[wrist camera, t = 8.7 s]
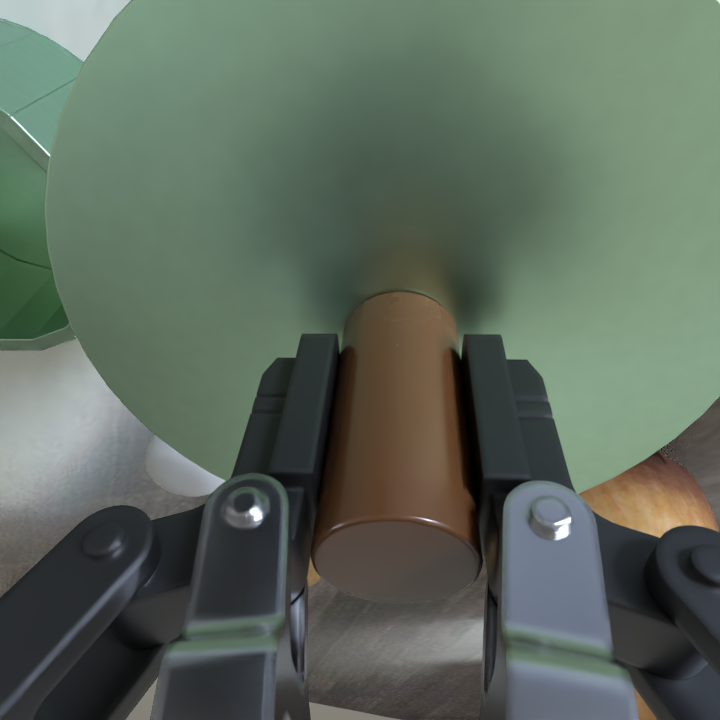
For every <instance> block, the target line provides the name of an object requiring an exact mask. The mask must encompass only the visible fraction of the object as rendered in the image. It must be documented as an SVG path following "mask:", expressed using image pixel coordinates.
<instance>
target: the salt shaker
mask: <svg viewBox="0 0 720 720" xmlns="http://www.w3.org/2000/svg"><path fill="white" fill-rule="evenodd" d="M145 468H146V470H147V472H148V473H149V475H150V476H151V478H152V480H153V481H154V483H156V484H157V485H159V486H160V487H161V488H163V489H164V490H166V491H168V492H171V493H174V494H177V495H180V496H188V497H198V496H203V495H208V494H210V493H212V492H213V491H214V490H215V489H216V488H217V487H219V486H220V485H221V484H222V483H224V482H225V480H223V479H221V478H219V477H217V476H215V475H213V474H211V473H209V472H208V471H206V470H205V469H203V468H202V467H200V466H198V465H197V464H195V463H194V462H192V461H190V460H189V459H187V458H186V457H184V456H182V455H181V454H180V453H178V452H177V451H176V450H174V449H173V448H172V447H170V446H169V445H168V444H167V443H165V442H164V441H163V440H161V439H160V438H159V437H157V436H156V435H154V436H153V437H152V439H151V441H150V443H149V445H148V448H147V452H146V457H145Z"/></svg>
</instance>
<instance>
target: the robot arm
mask: <svg viewBox="0 0 720 720" xmlns="http://www.w3.org/2000/svg"><path fill="white" fill-rule="evenodd" d="M339 358H340V349H339V340H338V335H337V334H307V333H303V334H302V335H301V338H300V341H299V346H298V350H297V354H296V358H276V359H275V361H274V362H273V363H272V364H271V365H270V366H269V367H268V369H267V370H266V371H265V372H264V373H263V374H262V377H261V380H260V384H259V387H258V390H257V397H255V400H254V404H253V407H252V414H250V417H249V420H248V423H247V427H246V430H245V433H244V437H243V440H242V443H241V447H240V450H239V453H238V457H237V460H236V463H235V466H234V470H233V473H232V475H231V478H230V479H229V480H227V481H225V482H224V483H222V484H221V485H220V486H219V487H217V488H216V489H215V490H214V491H213V492H212V494H211V495H210V497H209V498H208V500H207V502H206V503H205V504H203V505H201V506H199V507H197V508H195V509H192V510H189V511H185V512H182V513H178V514H174V515H170V516H166V517H163V518H159V519H155V520H151V521H150V519H149V517H148V516H147V515H146V514H145V513H144V512H143V511H142V510H140V509H138V508H136V507H132V506H125V505H120V506H113V507H108V508H105V509H102V510H100V511H98V512H96V513H94V514H92V515H90V516H89V517H87V518H86V519H84V520H83V521H82V522H81V523H79V524H78V525H77V526H76V527H75V528H74V529H73V530H72V531H71V532H70V533H69V534H68V535H67V536H65V537H64V538H63V539H62V540H61V541H60V542H59V543H58V544H57V545H56V546H55V547H54V548H53V549H52V550H51V551H50V552H49V553H47V554H46V555H45V556H44V557H43V558H42V559H41V560H40V561H39V562H38V563H37V564H36V565H35V566H34V567H33V568H32V569H31V570H30V571H28V572H27V573H26V574H25V575H24V576H23V577H22V578H21V579H20V580H19V581H18V582H17V583H16V584H15V585H14V586H13V587H12V588H11V589H9V590H8V591H7V592H6V593H5V594H4V595H3V596H2V597H1V598H0V720H125V719H126V718H127V717H128V715H129V714H130V713H131V711H132V710H133V709H134V707H135V706H136V705H137V704H138V702H139V701H140V700H141V698H142V697H143V696H144V694H145V693H146V692H147V690H148V689H149V688H150V686H151V685H152V684H153V683H154V681H155V680H156V679H157V677H158V680H157V685H156V691H155V696H154V701H153V706H152V711H151V716H150V720H311V719H310V709H309V699H308V581H307V576H308V570H309V563H310V550H311V543H312V536H313V530H314V523H315V516H316V510H317V505H318V499H319V492H320V485H321V479H322V472H323V465H324V459H325V452H326V445H327V438H328V432H329V425H330V418H331V412H332V405H333V398H334V391H335V385H336V378H337V371H338V365H339ZM461 367H462V376H463V385H464V394H465V403H466V412H467V421H468V430H469V439H470V448H471V457H472V467H473V476H474V485H475V494H476V503H477V512H478V521H479V530H480V539H481V548H482V555H485V558H486V566H487V575H488V579H487V584H486V589H485V605H484V631H483V657H482V683H481V703H480V714H479V720H639V715H638V708H637V702H636V696H635V691H634V688H635V689H636V690H637V692H638V693H639V695H640V696H641V697H642V699H643V700H644V702H645V703H646V704H647V706H648V707H649V709H650V710H651V711H652V713H653V714H654V716H655V717H656V718H657V720H720V533H719V532H717V531H715V530H712V529H709V528H705V527H701V526H695V525H684V526H678V527H675V528H672V529H670V530H668V531H666V532H665V533H664V534H663V535H662V536H661V538H659V537H656V536H653V535H650V534H647V533H643V532H640V531H637V530H634V529H631V528H627V527H624V526H621V525H618V524H616V523H613V522H611V521H609V520H607V519H605V518H603V517H601V516H600V515H598V514H597V513H595V512H594V511H593V510H591V508H590V507H589V505H588V504H587V503H586V502H585V500H584V499H583V498H582V497H580V496H579V495H578V494H577V493H576V491H575V489H574V488H573V485H572V482H571V479H570V476H569V472H568V468H567V465H566V461H565V457H564V454H563V450H562V446H561V443H560V439H559V436H558V432H557V428H556V425H555V421H554V419H553V417H552V416H553V414H552V410H551V406H550V403H549V402H548V396H547V392H546V388H545V385H544V381H543V377H542V376H541V375H540V374H539V373H538V372H537V370H536V369H535V368H534V367H533V366H532V365H531V364H530V362H529V361H528V360H521V359H506V354H505V350H504V345H503V340H502V337H501V335H500V334H464V336H463V342H462V353H461Z"/></svg>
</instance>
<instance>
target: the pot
mask: <svg viewBox="0 0 720 720" xmlns="http://www.w3.org/2000/svg"><path fill="white" fill-rule="evenodd" d="M83 63H84V62H82V61H81V60H80V59H78V58H77V57H76V56H74V55H73V54H72V53H71V52H69V51H68V50H66V49H65V48H63V47H62V46H60V45H58V44H57V43H55V42H54V41H52V40H50V39H49V38H47V37H45V36H43V35H41V34H39V33H37V32H35V31H33V30H31V29H29V28H27V27H24V26H21V25H18V24H16V23H13V22H10V21H7V20H4V19H0V350H44V349H47V348H50V347H53V346H56V345H58V344H61V343H64V342H67V341H70V340H73V339H75V338H77V336H76V335H75V333H74V331H73V329H72V327H71V325H70V323H69V320H68V317H67V315H66V312H65V310H64V307H63V304H62V302H61V299H60V296H59V294H58V291H57V288H56V284H55V279H54V275H53V271H52V266H51V262H50V257H49V253H48V247H47V233H46V219H45V196H46V184H47V173H48V161H49V157H50V153H51V149H52V145H53V141H54V137H55V133H56V130H57V126H58V122H59V118H60V114H61V111H62V109H63V107H64V104H65V102H66V100H67V98H68V96H69V93H70V91H71V89H72V87H73V85H74V82H75V80H76V78H77V76H78V73H79V71H80V69H81V67H82V65H83Z"/></svg>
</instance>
